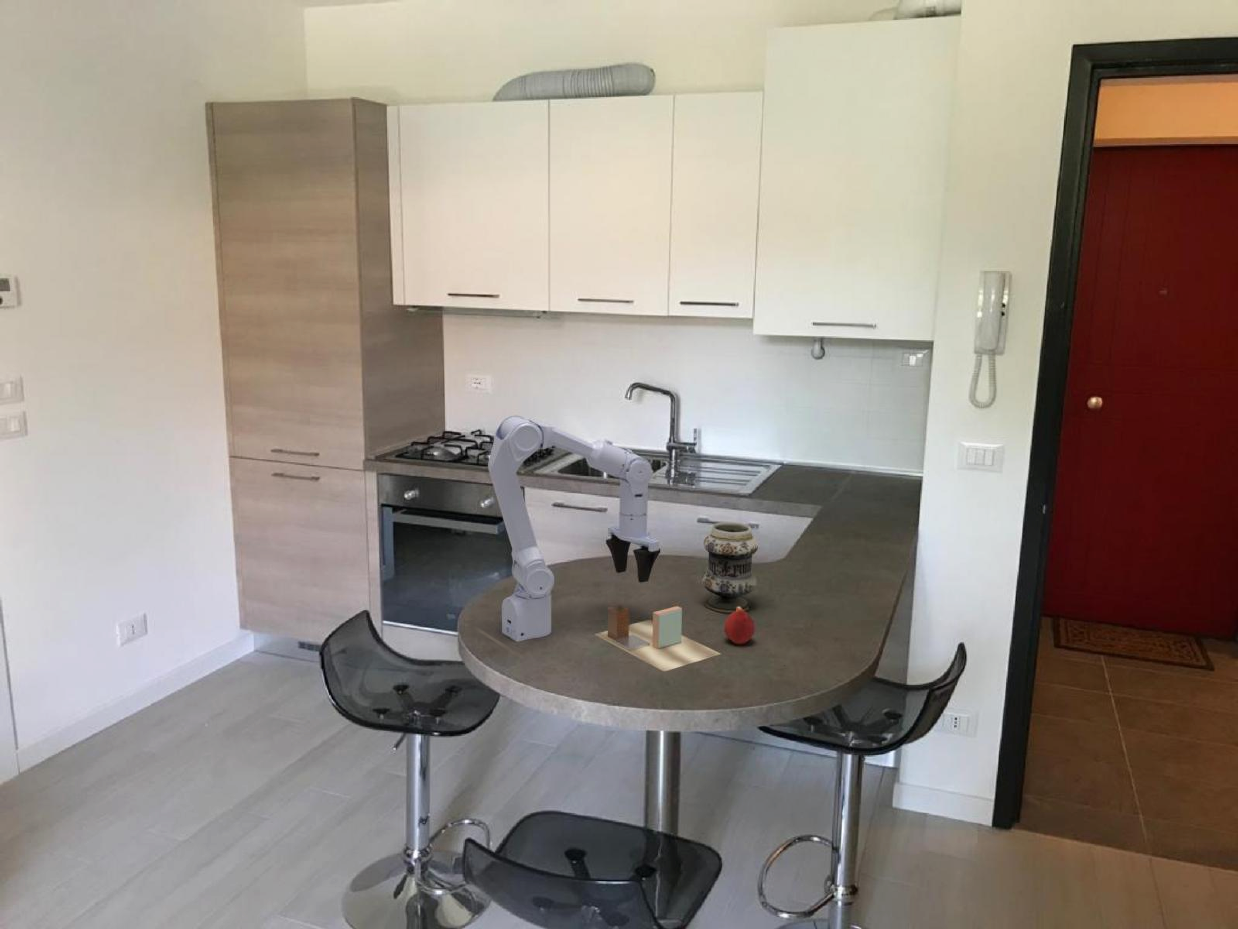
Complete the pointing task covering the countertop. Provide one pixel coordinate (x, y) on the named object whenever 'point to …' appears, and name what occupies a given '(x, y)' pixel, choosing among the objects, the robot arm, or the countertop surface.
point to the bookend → (622, 629)
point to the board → (664, 648)
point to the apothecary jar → (729, 566)
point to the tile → (667, 627)
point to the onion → (739, 626)
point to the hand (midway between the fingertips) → (632, 576)
